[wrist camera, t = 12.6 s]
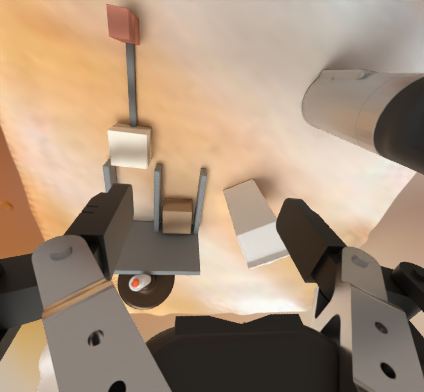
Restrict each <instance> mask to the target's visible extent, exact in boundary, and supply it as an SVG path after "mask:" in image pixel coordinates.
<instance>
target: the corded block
mask: <svg viewBox="0 0 424 392" xmlns="http://www.w3.org/2000/svg"><path fill="white" fill-rule="evenodd" d="M106 5H107V17H108V28H109V36H110V37H112V38H114V39H117V40H119V41H121V42H125V43H126V56H127V75H128V93H129V112H130V125H127V124H120V123H116V124H115V125H114V126H112V127H111V128H110V129H108V130H107V131H108V140H109V149H110V158H111V165H113V166H123V167H134V168H144V169H147V168H148V166H149V164H150V161H151V159H152V128H150V127H143V126H137V108H136V80H135V53H134V44H135V45H139V19H138V18H137V17H136V16H135V15H134V14H133V13H132V12H131V11H130V10H129V9H127V8H122V7H118V6H113V5H109V4H106Z"/></svg>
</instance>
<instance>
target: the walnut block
mask: <svg viewBox="0 0 424 392" xmlns="http://www.w3.org/2000/svg"><path fill="white" fill-rule="evenodd" d="M191 219H192V199H171V198H165V201H164V206H163V233H179V234H190V232H191Z"/></svg>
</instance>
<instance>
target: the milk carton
mask: <svg viewBox="0 0 424 392" xmlns="http://www.w3.org/2000/svg"><path fill="white" fill-rule="evenodd" d="M223 192H224V195H225V199H226V202H227V205H228V209H229V212H230V216H231V219H232V222H233V226H234V229H235V233H236V236H237V239H238V242H239V244H240V247H241V249H242V252H243V255H244V257H245V260H246V262H247V265H248V269H252V268H255V267H258V266H261V265H267V264H270V263H273V262H275V261H276V260H278V259H281V258H284V257H287V256H290V254H289V252H288V251H287V249H286V247H285V245H284V243H283V242H282V240H281V238H280V236H279V234H278V233H277V230H276V220H277V218H276V217H275V215H274V213H273V212H272V210H271V208H270V207H269V205H268V203H267V202H266V200H265V198H264V197H263V195H262V193H261V192H260V190H259V188H258V187H257V185H256V183H255V182H254V180H253V179H251V180H248V181H246V182H243V183H241V184H238V185H236V186H233V187H231V188H228V189H226V190H224V191H223Z"/></svg>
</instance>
